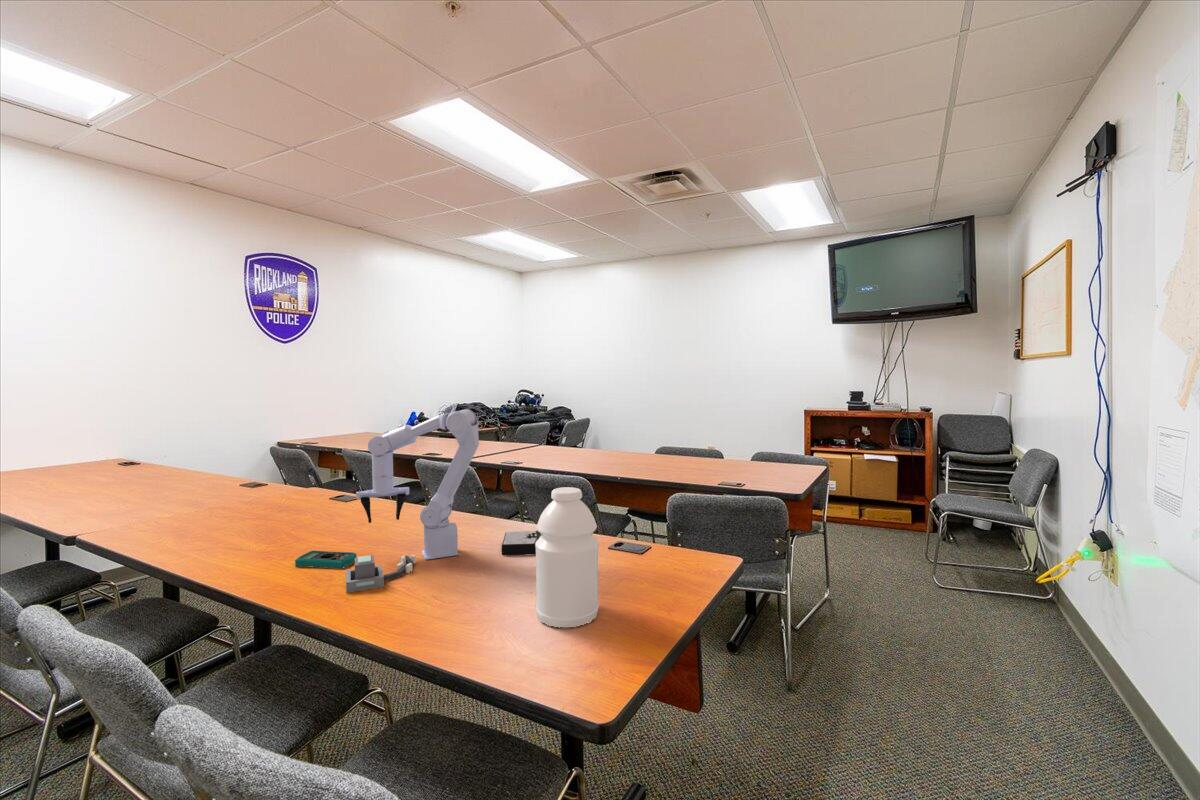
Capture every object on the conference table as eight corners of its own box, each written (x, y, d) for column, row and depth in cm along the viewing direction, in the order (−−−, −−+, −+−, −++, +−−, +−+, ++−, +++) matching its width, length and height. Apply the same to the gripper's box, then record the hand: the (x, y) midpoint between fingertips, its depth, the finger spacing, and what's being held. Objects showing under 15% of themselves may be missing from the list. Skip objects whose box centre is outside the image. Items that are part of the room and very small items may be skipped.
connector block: (373, 577, 137) (373, 553, 136) (375, 585, 131) (374, 560, 131) (355, 580, 135) (354, 556, 134) (355, 589, 129) (354, 563, 129)
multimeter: (566, 555, 155) (566, 538, 154) (501, 557, 153) (501, 540, 152) (565, 540, 168) (565, 525, 167) (505, 542, 166) (505, 527, 166)
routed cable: (423, 559, 149) (423, 552, 149) (400, 581, 133) (400, 574, 133) (404, 559, 150) (404, 552, 149) (380, 581, 134) (379, 574, 133)
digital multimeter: (343, 570, 142) (343, 560, 142) (293, 568, 144) (293, 557, 144) (358, 561, 150) (358, 551, 150) (311, 559, 152) (311, 549, 151)
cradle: (381, 574, 139) (381, 565, 138) (383, 587, 130) (383, 577, 130) (346, 579, 135) (346, 570, 135) (346, 593, 126) (346, 583, 126)
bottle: (591, 632, 107) (591, 498, 106) (527, 627, 109) (526, 496, 108) (603, 603, 121) (603, 484, 120) (545, 598, 123) (545, 482, 122)
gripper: (356, 480, 147) (357, 527, 148) (410, 475, 153) (411, 520, 154) (355, 475, 153) (356, 520, 154) (407, 471, 160) (408, 515, 160)
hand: (383, 520), depth 155 cm, fingers open, 7 cm apart
